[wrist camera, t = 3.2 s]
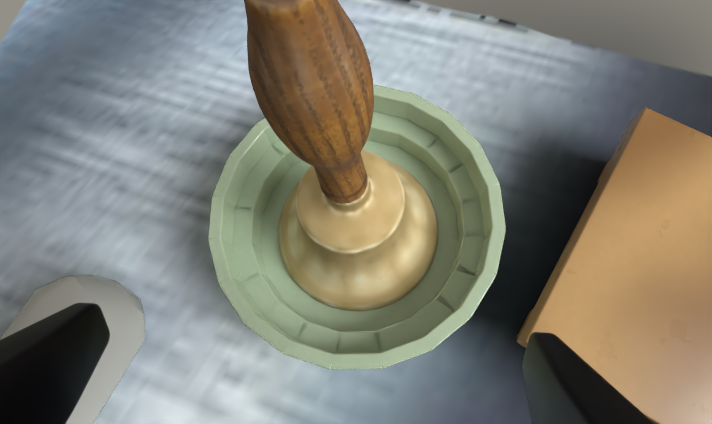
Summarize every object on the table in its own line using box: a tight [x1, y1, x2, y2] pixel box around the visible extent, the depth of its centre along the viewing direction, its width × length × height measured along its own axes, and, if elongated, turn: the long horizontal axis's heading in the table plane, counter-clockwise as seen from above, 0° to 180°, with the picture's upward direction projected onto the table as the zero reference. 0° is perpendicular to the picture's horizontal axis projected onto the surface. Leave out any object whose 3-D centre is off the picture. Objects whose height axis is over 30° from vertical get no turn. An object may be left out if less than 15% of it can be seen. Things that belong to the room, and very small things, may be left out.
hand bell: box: [244, 0, 438, 311], centre depth 14 cm, size 8×8×16 cm
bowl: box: [208, 85, 506, 370], centre depth 20 cm, size 13×13×4 cm
